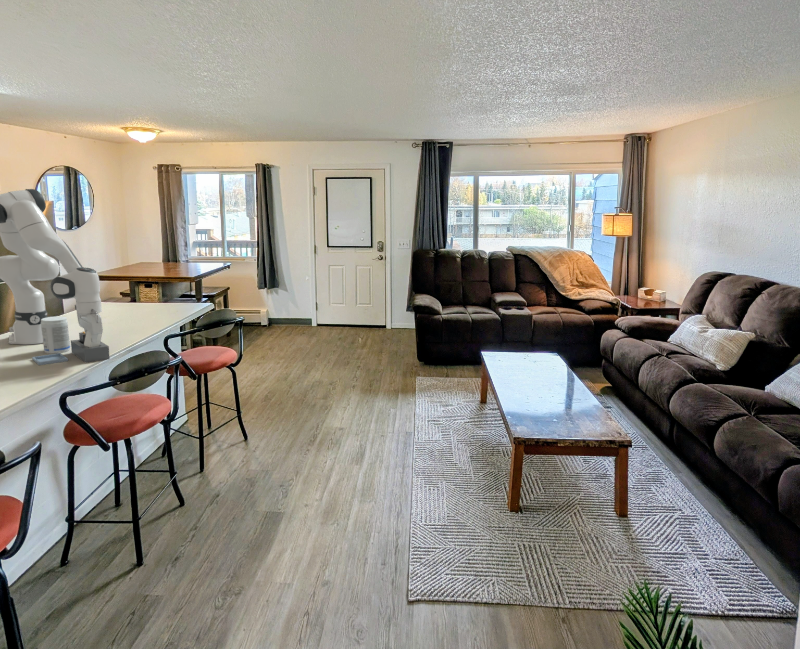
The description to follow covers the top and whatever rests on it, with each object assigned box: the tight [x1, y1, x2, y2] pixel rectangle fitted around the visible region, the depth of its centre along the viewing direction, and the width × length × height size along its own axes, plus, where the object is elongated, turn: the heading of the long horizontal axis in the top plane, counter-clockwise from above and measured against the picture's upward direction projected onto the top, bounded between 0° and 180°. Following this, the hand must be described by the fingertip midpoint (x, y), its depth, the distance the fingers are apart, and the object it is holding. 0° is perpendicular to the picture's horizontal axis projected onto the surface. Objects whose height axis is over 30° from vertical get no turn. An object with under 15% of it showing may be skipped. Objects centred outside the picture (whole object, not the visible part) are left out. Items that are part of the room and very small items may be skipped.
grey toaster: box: [70, 331, 110, 363], centre depth 223 cm, size 18×9×10 cm, turn 46°
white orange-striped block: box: [84, 331, 103, 348], centre depth 219 cm, size 5×4×8 cm
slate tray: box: [31, 353, 69, 366], centre depth 215 cm, size 10×10×2 cm
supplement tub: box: [41, 315, 71, 355], centre depth 228 cm, size 10×10×15 cm
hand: (91, 340), depth 219 cm, fingers open, 6 cm apart
